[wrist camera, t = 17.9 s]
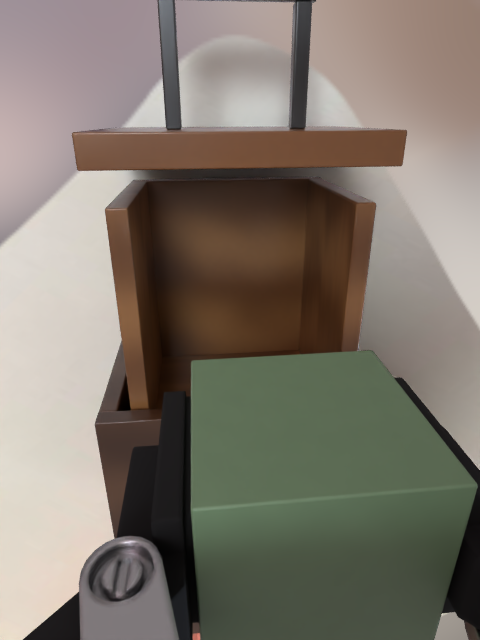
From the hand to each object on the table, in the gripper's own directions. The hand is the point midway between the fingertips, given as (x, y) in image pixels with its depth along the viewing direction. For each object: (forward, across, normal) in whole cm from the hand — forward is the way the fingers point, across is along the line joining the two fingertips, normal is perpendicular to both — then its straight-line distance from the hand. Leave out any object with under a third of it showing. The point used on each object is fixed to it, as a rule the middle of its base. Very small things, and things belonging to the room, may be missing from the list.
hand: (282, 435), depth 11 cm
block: (0, 0, 0) cm, 0 cm away
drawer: (+16, 0, -3) cm, 16 cm away
